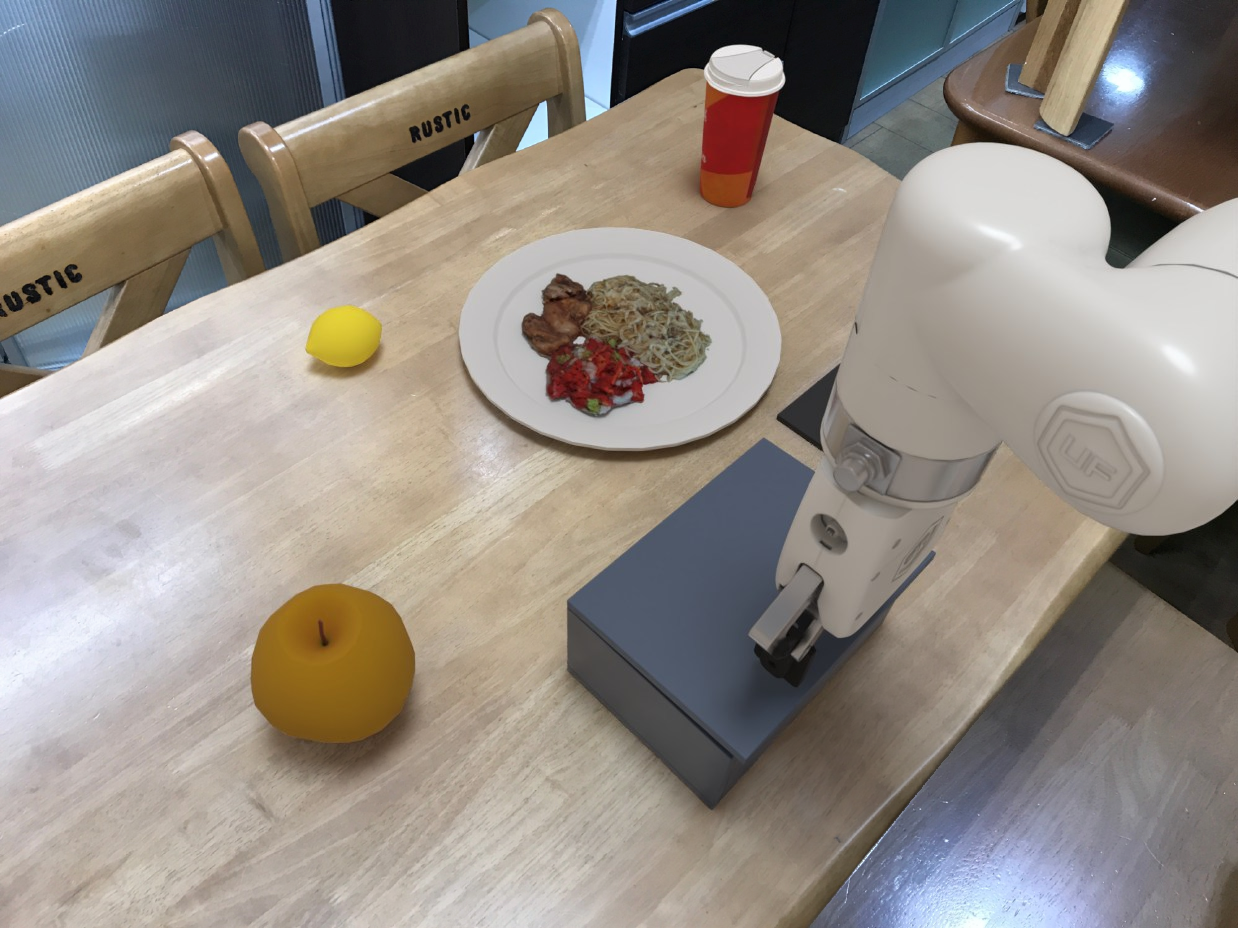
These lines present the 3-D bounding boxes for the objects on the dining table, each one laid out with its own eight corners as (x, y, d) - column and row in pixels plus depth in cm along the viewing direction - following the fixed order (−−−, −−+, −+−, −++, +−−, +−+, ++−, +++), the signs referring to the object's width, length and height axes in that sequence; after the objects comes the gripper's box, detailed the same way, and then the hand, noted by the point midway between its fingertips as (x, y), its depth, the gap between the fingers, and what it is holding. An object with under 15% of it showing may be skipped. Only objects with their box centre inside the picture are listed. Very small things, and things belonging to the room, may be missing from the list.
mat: (1005, 430, 79) (1007, 426, 78) (919, 519, 72) (922, 514, 72) (866, 344, 85) (867, 340, 85) (776, 418, 78) (777, 414, 78)
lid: (933, 559, 58) (956, 513, 55) (744, 765, 49) (755, 726, 45) (762, 444, 65) (771, 395, 61) (566, 606, 56) (564, 561, 52)
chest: (883, 621, 66) (919, 557, 59) (711, 810, 57) (731, 759, 50) (743, 514, 72) (761, 444, 65) (566, 669, 63) (566, 607, 56)
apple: (278, 790, 56) (222, 716, 47) (278, 654, 62) (228, 565, 53) (433, 757, 58) (407, 679, 49) (419, 628, 64) (393, 537, 55)
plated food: (742, 237, 95) (747, 210, 92) (813, 451, 76) (822, 425, 74) (459, 247, 92) (456, 220, 89) (461, 474, 73) (457, 447, 70)
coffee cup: (726, 163, 104) (746, 34, 92) (777, 196, 100) (804, 67, 88) (673, 187, 100) (687, 57, 88) (723, 223, 96) (745, 91, 85)
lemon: (375, 328, 84) (365, 283, 79) (397, 364, 81) (388, 319, 76) (302, 353, 81) (288, 308, 77) (322, 390, 78) (308, 346, 74)
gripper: (870, 591, 34) (789, 759, 47) (1076, 373, 42) (958, 568, 55) (722, 480, 37) (684, 667, 50) (940, 298, 45) (859, 500, 59)
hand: (827, 615), depth 53 cm, fingers open, 9 cm apart
